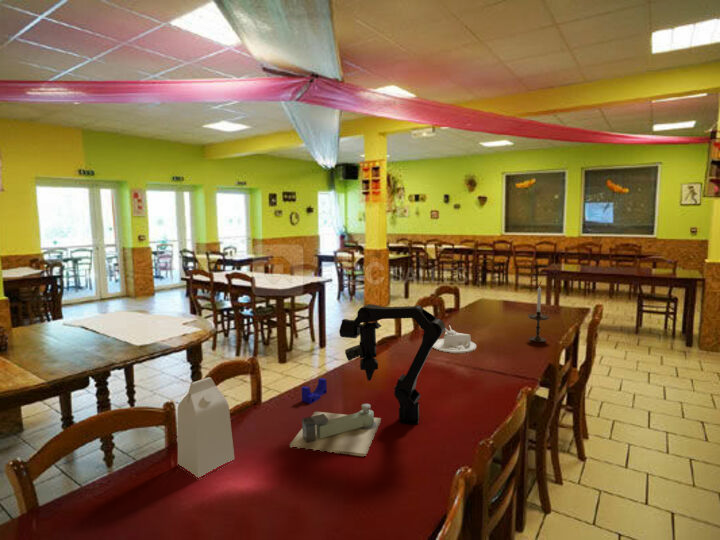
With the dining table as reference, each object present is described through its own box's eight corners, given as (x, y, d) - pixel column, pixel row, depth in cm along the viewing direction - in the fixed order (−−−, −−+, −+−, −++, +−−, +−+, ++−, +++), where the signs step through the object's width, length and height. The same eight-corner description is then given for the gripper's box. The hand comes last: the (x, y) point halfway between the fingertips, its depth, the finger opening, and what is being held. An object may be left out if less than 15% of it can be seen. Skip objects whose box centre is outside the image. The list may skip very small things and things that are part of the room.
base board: (380, 420, 156) (380, 417, 156) (365, 456, 133) (365, 453, 133) (315, 414, 163) (315, 410, 162) (289, 447, 139) (289, 443, 139)
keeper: (324, 432, 147) (323, 413, 146) (328, 437, 143) (327, 418, 142) (302, 437, 144) (302, 418, 143) (306, 442, 140) (306, 423, 139)
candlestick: (549, 339, 254) (551, 280, 249) (545, 344, 245) (548, 282, 240) (529, 336, 260) (531, 278, 255) (525, 341, 250) (527, 281, 246)
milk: (213, 448, 139) (208, 370, 136) (234, 461, 132) (230, 378, 129) (177, 465, 130) (171, 382, 127) (198, 479, 123) (192, 391, 120)
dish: (428, 351, 235) (428, 331, 234) (434, 339, 259) (434, 320, 257) (475, 355, 228) (475, 334, 227) (476, 342, 252) (477, 323, 250)
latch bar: (369, 418, 155) (368, 401, 154) (376, 424, 150) (376, 406, 150) (315, 433, 145) (315, 414, 144) (321, 440, 141) (321, 421, 140)
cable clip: (310, 404, 171) (310, 389, 171) (302, 401, 174) (301, 387, 173) (329, 393, 181) (329, 380, 181) (321, 391, 184) (320, 377, 183)
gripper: (346, 333, 169) (347, 371, 170) (345, 347, 150) (346, 390, 152) (375, 332, 169) (376, 371, 171) (377, 346, 150) (378, 389, 152)
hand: (369, 380), depth 161 cm, fingers closed
